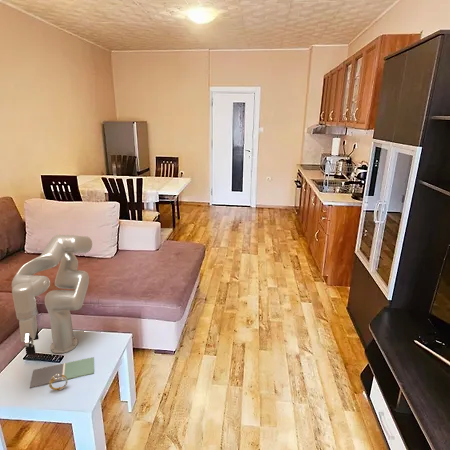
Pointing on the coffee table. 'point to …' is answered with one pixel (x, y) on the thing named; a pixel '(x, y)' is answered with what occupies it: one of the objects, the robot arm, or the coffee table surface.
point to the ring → (56, 379)
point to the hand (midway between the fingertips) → (32, 346)
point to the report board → (62, 372)
